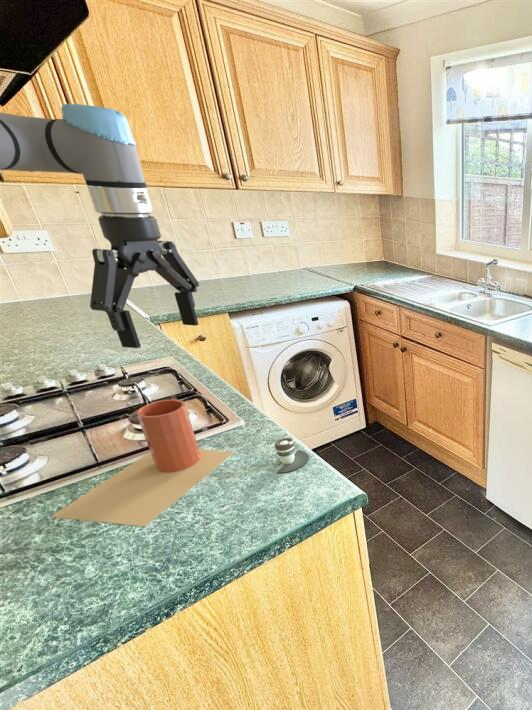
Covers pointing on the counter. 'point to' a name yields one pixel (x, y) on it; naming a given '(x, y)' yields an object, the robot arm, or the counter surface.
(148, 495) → the mat
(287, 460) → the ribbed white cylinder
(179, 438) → the tumbler
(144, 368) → the counter surface
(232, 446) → the counter surface
